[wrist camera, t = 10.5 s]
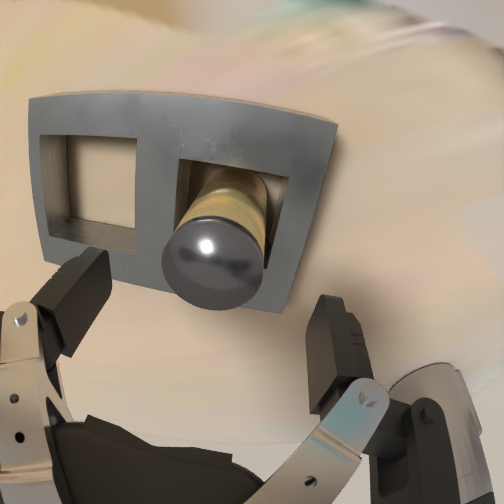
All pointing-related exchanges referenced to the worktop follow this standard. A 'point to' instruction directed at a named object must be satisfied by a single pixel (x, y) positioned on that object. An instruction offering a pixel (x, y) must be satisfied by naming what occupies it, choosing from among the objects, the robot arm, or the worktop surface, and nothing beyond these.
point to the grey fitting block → (177, 175)
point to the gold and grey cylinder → (220, 242)
